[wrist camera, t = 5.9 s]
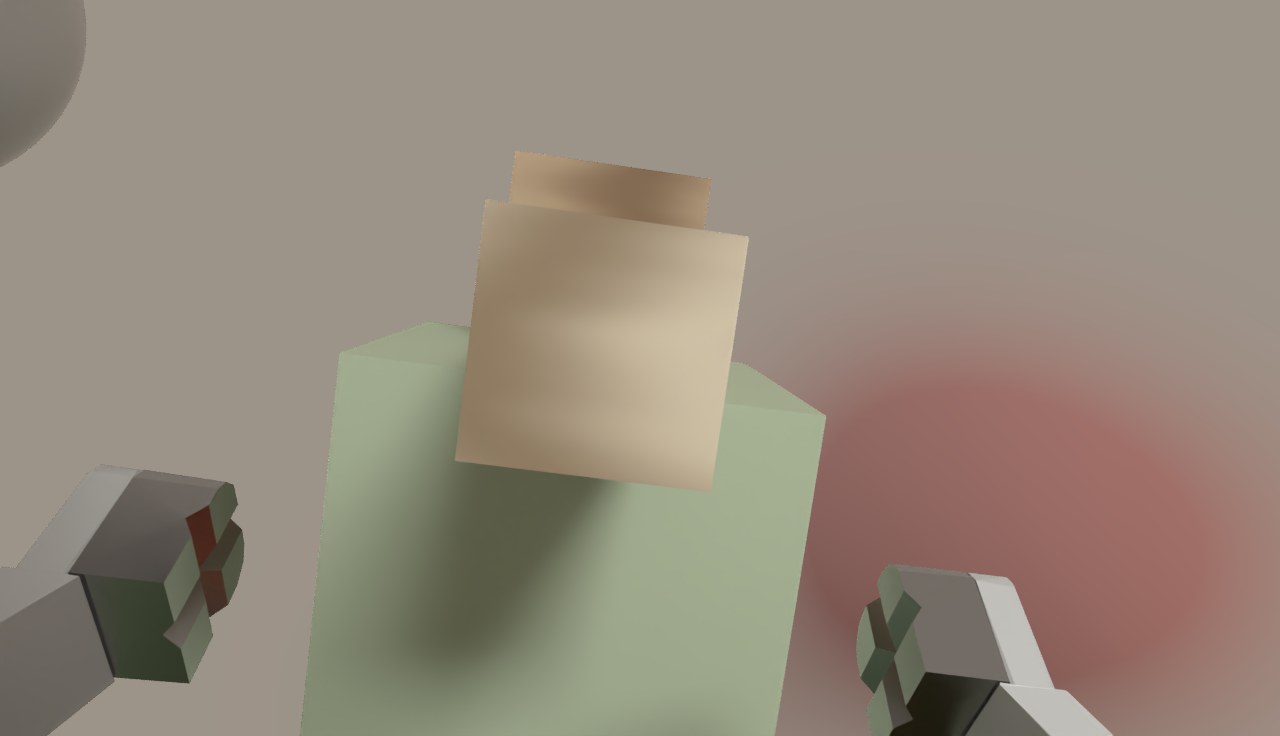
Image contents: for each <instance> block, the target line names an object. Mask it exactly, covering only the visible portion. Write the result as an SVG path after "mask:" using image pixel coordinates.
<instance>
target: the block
mask: <svg viewBox="0 0 1280 736" xmlns="http://www.w3.org/2000/svg"><path fill="white" fill-rule="evenodd" d="M710 184H711V179H707V178H701V177H694V176H687V175H680V174H673V173H666V172H659V171H652V170H646V169H639V168H632V167H625V166H619V165H612V164H605V163H598V162H591V161H584V160H578V159H571V158H564V157H557V156H550V155H543V154H536V153H530V152H523V151H515V158H514V167H513V175H512V183H511V192H510V200H509V203H508V202H502V201H494V200H487V199H486V200H485V208H484V217H483V225H482V234H481V243H480V251H479V259H478V268H477V277H476V285H475V293H474V302H473V311H472V319H471V327H470V336H469V344H468V353H467V361H466V370H465V378H464V387H463V395H462V404H461V412H460V421H459V429H458V438H457V446H456V454H455V461H460V462H468V463H476V464H484V465H493V466H501V467H509V468H517V469H525V470H533V471H542V472H550V473H558V474H566V475H574V476H582V477H591V478H599V479H607V480H615V481H623V482H631V483H640V484H648V485H656V486H664V487H672V488H680V489H688V490H697V491H705V492H711V489H712V482H713V475H714V469H715V462H716V455H717V449H718V442H719V435H720V428H721V422H722V415H723V408H724V402H725V395H726V388H727V382H728V375H729V368H730V361H731V354H732V348H733V341H734V335H735V328H736V321H737V314H738V308H739V300H740V294H741V288H742V281H743V274H744V268H745V261H746V254H747V248H748V240H749V237H747V236H740V235H733V234H726V233H719V232H712V231H705V230H704V226H705V219H706V211H707V205H708V198H709V191H710Z"/></svg>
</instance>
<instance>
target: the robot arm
mask: <svg viewBox="0 0 1280 736" xmlns="http://www.w3.org/2000/svg"><path fill="white" fill-rule="evenodd" d="M85 46H86V18H85V10H84V2H83V0H0V167H2V166H4V165H6V164H7V163H9V162H10V161H12V160H14V159H16V158H17V157H19V156H20V155H22V154H23V153H24V152H26V151H27V150H28V149H29V148H31V147H32V146H33V145H35V144H36V143H37V142H38V141H39V140H40V139H41V138H42V137H43V136H44V135H45V134H46V133H47V132H48V131H49V130H50V129H51V128H52V127H53V125H54V124H55V122H56V121H57V120H58V119H59V117H60V116H61V115H62V113H63V112H64V110H65V108H66V106H67V105H68V103H69V101H70V99H71V98H72V95H73V93H74V90H75V88H76V85H77V83H78V81H79V77H80V73H81V69H82V66H83V62H84V55H85ZM237 505H238V503H237V498H236V494H235V489H234V485H233V484H230V483H227V482H222V481H216V480H209V479H202V478H196V477H188V476H182V475H175V474H169V473H161V472H155V471H149V470H138V469H131V468H124V467H117V466H110V465H103V464H101V465H99V466H98V467H96V468H94V469H93V470H91V471H90V472H88V473H87V475H86V476H85V477H84V479H83V480H82V481H81V482H80V484H79V485H78V486H77V488H76V489H75V490H74V492H73V493H72V494H71V496H70V497H69V498H68V500H67V501H66V502H65V504H64V505H63V506H62V508H61V509H60V510H59V512H58V513H57V514H56V515H55V517H54V518H53V519H52V521H51V522H50V523H49V525H48V526H47V527H46V529H45V530H44V531H43V533H42V534H41V535H40V537H39V538H38V539H37V541H36V542H35V543H34V545H33V546H32V547H31V549H30V550H29V551H28V553H27V554H26V555H25V557H24V558H23V559H22V561H21V562H20V563H19V565H18V566H17V567H16V568H10V567H1V568H0V736H47V735H48V734H50V733H51V732H52V731H53V730H55V729H56V728H57V727H58V726H59V725H61V724H62V723H63V722H65V721H66V720H67V719H68V718H70V717H71V716H72V715H73V714H74V713H76V712H77V711H78V710H80V709H81V708H82V707H83V706H85V705H86V704H87V703H88V702H90V701H91V700H92V699H93V698H95V697H96V696H97V695H98V694H100V693H101V692H102V691H103V690H105V689H106V688H107V687H108V686H110V685H111V684H112V683H113V682H114V678H113V677H117V678H129V679H141V680H153V681H166V682H178V683H190V681H191V679H192V677H193V675H194V673H195V671H196V669H197V667H198V665H199V663H200V661H201V659H202V657H203V655H204V653H205V651H206V649H207V647H208V645H209V643H210V641H211V639H212V637H213V634H212V629H211V624H210V619H209V617H211V616H212V615H214V614H215V613H217V612H218V611H220V610H221V609H223V608H224V607H226V606H227V605H228V604H229V602H230V600H231V597H232V595H233V593H234V591H235V589H236V587H237V584H238V580H239V576H240V572H241V568H242V564H243V558H244V540H243V533H242V529H241V528H240V527H239V526H238V525H236V524H235V523H234V522H233V521H232V520H231V519H230V518H231V516H232V514H233V512H234V511H235V509H236V507H237ZM877 584H878V588H879V593H880V598H878V599H877V600H875V601H873V602H872V603H870V604H868V605H867V606H866V608H865V611H864V613H863V615H862V618H861V620H860V623H859V629H858V637H857V662H858V667H859V673H860V678H861V679H862V680H863V681H864V683H865V684H866V685H867V686H868V687H869V688H870V689H871V691H872V692H873V693H874V696H873V698H872V700H871V702H870V704H869V706H868V708H867V715H868V720H869V724H870V730H871V735H872V736H1113V735H1112V734H1111V733H1110V732H1109V731H1108V730H1107V729H1106V728H1105V727H1104V726H1103V725H1102V724H1101V723H1100V722H1099V721H1098V720H1096V719H1095V718H1094V717H1093V716H1092V715H1091V714H1090V713H1089V712H1088V711H1087V710H1086V709H1085V708H1084V707H1083V706H1082V705H1081V704H1080V703H1079V702H1078V701H1077V700H1075V699H1074V698H1073V697H1072V696H1071V695H1070V694H1069V693H1068V692H1067V691H1065V690H1058V689H1055V688H1054V686H1053V683H1052V681H1051V678H1050V676H1049V673H1048V671H1047V668H1046V666H1045V663H1044V661H1043V658H1042V656H1041V653H1040V650H1039V648H1038V646H1037V643H1036V641H1035V638H1034V635H1033V633H1032V631H1031V628H1030V625H1029V623H1028V620H1027V618H1026V615H1025V613H1024V611H1023V608H1022V605H1021V603H1020V600H1019V597H1018V595H1017V592H1016V590H1015V587H1014V585H1013V584H1012V582H1010V580H1009V579H1007V578H1006V577H999V576H991V575H981V574H974V573H964V572H959V571H950V570H941V569H932V568H923V567H915V566H906V565H897V564H890V565H889V566H887V567H886V568H885V569H884V570H883V572H882V574H881V576H880V578H879V580H878V582H877Z"/></svg>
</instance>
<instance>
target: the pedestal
mask: <svg viewBox="0 0 1280 736" xmlns="http://www.w3.org/2000/svg"><path fill="white" fill-rule="evenodd" d="M469 336H470V327H465V326H458V325H451V324H443V323H436V322H426V323H424V324H421V325H418V326H415V327H412V328H410V329H406V330H404V331H401V332H398V333H395V334H392V335H389V336H387V337H384V338H381V339H378V340H376V341H373V342H370V343H367V344H364V345H361V346H358V347H356V348H353V349H350V350H347V351H344V352H342V353H340V354H339V364H338V373H337V383H336V393H335V403H334V412H333V422H332V432H331V442H330V451H329V461H328V471H327V481H326V490H325V500H324V510H323V520H322V529H321V540H320V549H319V558H318V569H317V578H316V588H315V597H314V607H313V617H312V627H311V637H310V646H309V656H308V666H307V676H306V685H305V695H304V705H303V714H302V724H301V734H300V736H775V729H776V723H777V717H778V711H779V705H780V699H781V693H782V686H783V680H784V674H785V668H786V661H787V655H788V649H789V643H790V637H791V631H792V624H793V618H794V612H795V606H796V600H797V593H798V587H799V581H800V575H801V568H802V563H803V556H804V550H805V544H806V538H807V531H808V526H809V519H810V513H811V507H812V500H813V494H814V489H815V482H816V476H817V470H818V463H819V458H820V451H821V445H822V439H823V432H824V426H825V421H826V416H825V415H824V414H822V413H821V412H819V411H817V410H816V409H814V408H813V407H811V406H810V405H808V404H807V403H805V402H804V401H802V400H801V399H799V398H797V397H796V396H794V395H793V394H791V393H790V392H788V391H787V390H785V389H784V388H782V387H780V386H779V385H777V384H776V383H774V382H773V381H771V380H770V379H768V378H767V377H765V376H763V375H762V374H760V373H759V372H757V371H756V370H754V369H753V368H751V367H750V366H748V365H747V364H744V363H737V362H730V368H729V375H728V382H727V388H726V395H725V402H724V408H723V415H722V422H721V428H720V435H719V442H718V449H717V455H716V462H715V469H714V475H713V482H712V489H711V492H705V491H697V490H688V489H680V488H672V487H664V486H656V485H648V484H640V483H631V482H623V481H615V480H607V479H599V478H591V477H582V476H574V475H566V474H558V473H550V472H542V471H533V470H525V469H517V468H509V467H501V466H493V465H484V464H476V463H468V462H460V461H455V454H456V446H457V438H458V429H459V421H460V412H461V404H462V395H463V387H464V378H465V370H466V361H467V353H468V344H469Z"/></svg>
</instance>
